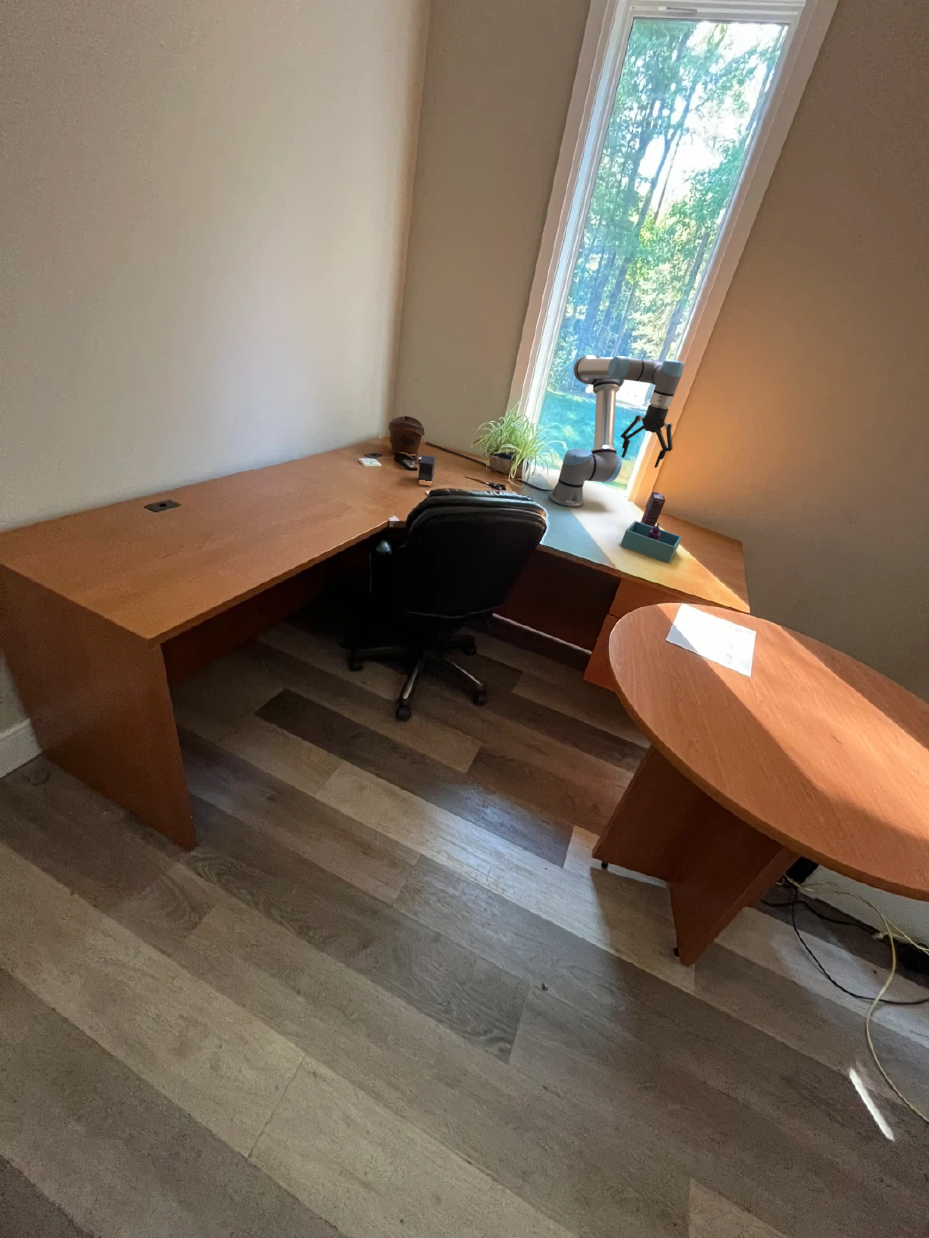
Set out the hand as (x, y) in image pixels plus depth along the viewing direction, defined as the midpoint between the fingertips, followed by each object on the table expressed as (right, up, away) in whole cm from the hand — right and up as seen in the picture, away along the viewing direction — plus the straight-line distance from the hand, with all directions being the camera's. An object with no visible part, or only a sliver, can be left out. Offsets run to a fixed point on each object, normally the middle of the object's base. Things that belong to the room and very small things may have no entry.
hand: (639, 462), depth 196 cm
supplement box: (+9, -24, +18) cm, 32 cm away
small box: (-88, -1, +27) cm, 92 cm away
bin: (+4, -35, +2) cm, 35 cm away
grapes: (+4, -34, +2) cm, 34 cm away
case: (-101, +22, +56) cm, 118 cm away
